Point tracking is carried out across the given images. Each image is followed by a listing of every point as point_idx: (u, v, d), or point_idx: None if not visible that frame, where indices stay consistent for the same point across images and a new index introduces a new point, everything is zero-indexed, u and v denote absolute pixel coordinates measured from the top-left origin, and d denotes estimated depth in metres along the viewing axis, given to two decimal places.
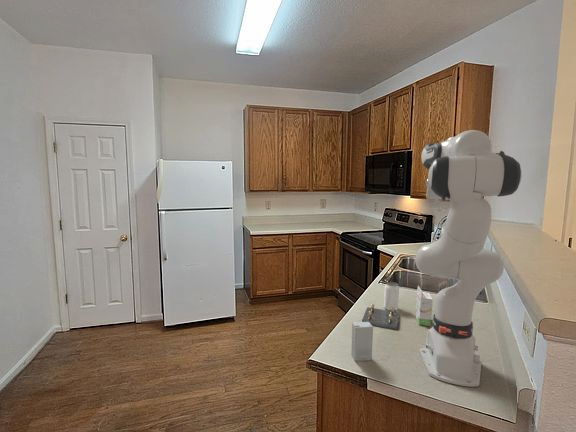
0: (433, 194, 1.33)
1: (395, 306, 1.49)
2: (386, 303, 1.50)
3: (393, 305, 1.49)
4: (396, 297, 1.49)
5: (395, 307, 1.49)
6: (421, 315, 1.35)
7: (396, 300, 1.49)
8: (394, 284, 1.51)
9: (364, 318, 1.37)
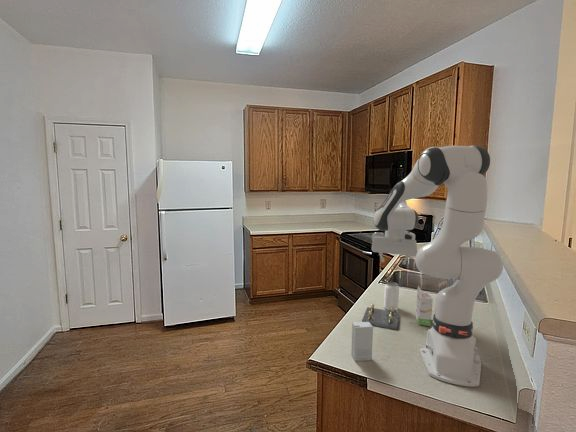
0: (377, 248, 1.50)
1: (395, 306, 1.49)
2: (386, 303, 1.50)
3: (393, 305, 1.49)
4: (396, 297, 1.49)
5: (395, 307, 1.49)
6: (421, 315, 1.35)
7: (396, 300, 1.49)
8: (394, 284, 1.51)
9: (364, 318, 1.37)
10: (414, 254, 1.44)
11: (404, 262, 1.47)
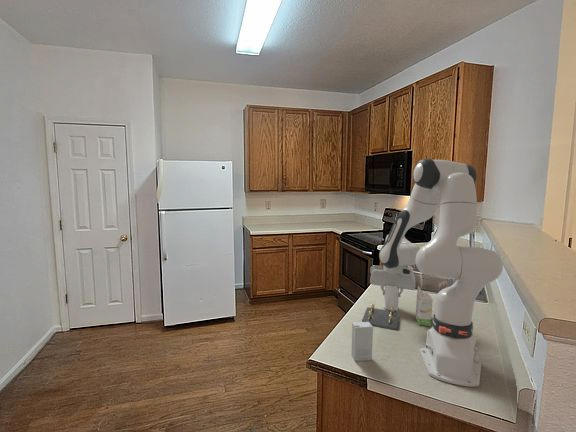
0: (375, 281, 1.52)
1: (395, 306, 1.49)
2: (386, 303, 1.50)
3: (393, 305, 1.49)
4: (396, 297, 1.49)
5: (395, 307, 1.49)
6: (421, 315, 1.35)
7: (396, 300, 1.49)
8: None
9: (364, 318, 1.37)
10: (412, 288, 1.46)
11: (399, 295, 1.49)
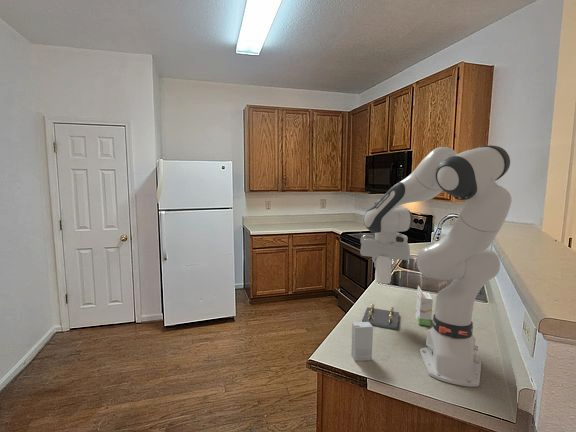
0: (366, 251, 1.38)
1: (387, 279, 1.35)
2: (377, 276, 1.36)
3: (385, 278, 1.35)
4: (388, 269, 1.35)
5: (387, 280, 1.35)
6: (421, 315, 1.35)
7: (388, 272, 1.35)
8: None
9: (364, 318, 1.37)
10: (406, 258, 1.32)
11: (392, 266, 1.35)
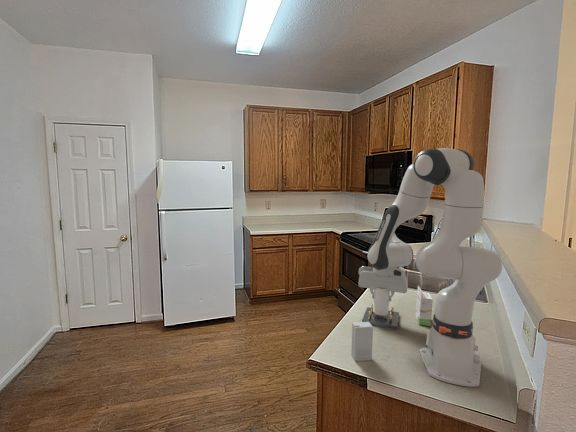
0: (364, 283, 1.39)
1: (385, 311, 1.37)
2: (375, 307, 1.38)
3: (383, 310, 1.36)
4: (386, 301, 1.36)
5: (385, 312, 1.37)
6: (421, 315, 1.35)
7: (386, 304, 1.37)
8: None
9: (364, 318, 1.37)
10: (404, 291, 1.33)
11: (389, 298, 1.37)
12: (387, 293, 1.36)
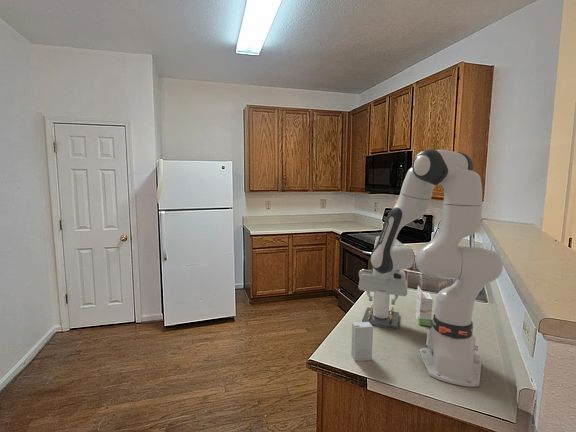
0: (364, 286, 1.39)
1: (385, 313, 1.37)
2: (375, 310, 1.38)
3: (383, 312, 1.37)
4: (386, 304, 1.36)
5: (385, 315, 1.37)
6: (421, 315, 1.35)
7: (386, 307, 1.37)
8: None
9: (364, 318, 1.37)
10: (404, 294, 1.34)
11: (393, 302, 1.36)
12: (387, 296, 1.36)
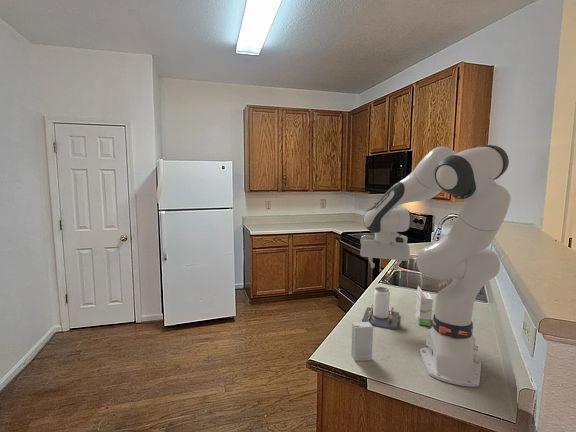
0: (366, 252, 1.38)
1: (385, 313, 1.37)
2: (375, 310, 1.38)
3: (383, 312, 1.37)
4: (386, 304, 1.36)
5: (385, 315, 1.37)
6: (421, 315, 1.35)
7: (386, 307, 1.37)
8: (384, 289, 1.39)
9: (364, 318, 1.37)
10: (406, 259, 1.32)
11: (396, 268, 1.34)
12: (387, 296, 1.36)
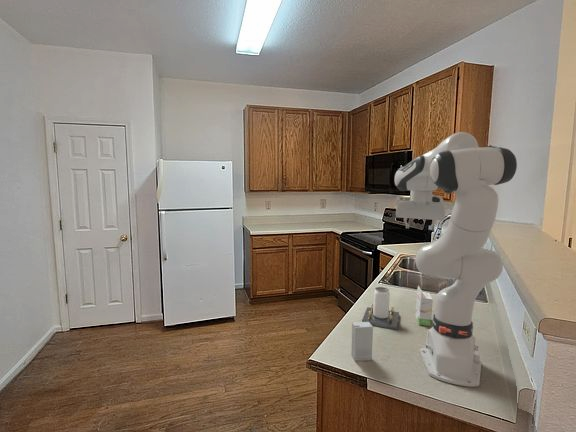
0: (402, 213, 1.43)
1: (385, 313, 1.37)
2: (375, 310, 1.38)
3: (383, 312, 1.37)
4: (386, 304, 1.36)
5: (385, 315, 1.37)
6: (421, 315, 1.35)
7: (386, 307, 1.37)
8: (384, 289, 1.39)
9: (364, 318, 1.37)
10: (442, 218, 1.37)
11: (431, 227, 1.40)
12: (387, 296, 1.36)
